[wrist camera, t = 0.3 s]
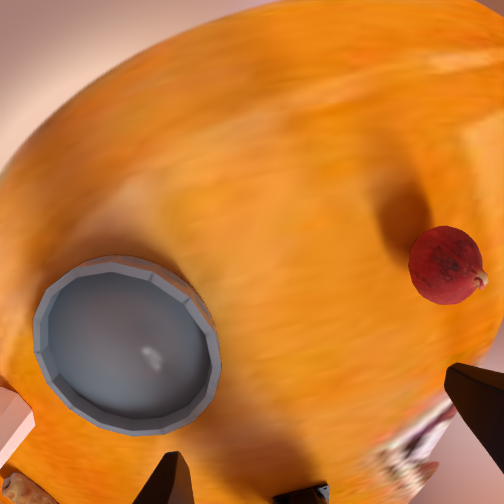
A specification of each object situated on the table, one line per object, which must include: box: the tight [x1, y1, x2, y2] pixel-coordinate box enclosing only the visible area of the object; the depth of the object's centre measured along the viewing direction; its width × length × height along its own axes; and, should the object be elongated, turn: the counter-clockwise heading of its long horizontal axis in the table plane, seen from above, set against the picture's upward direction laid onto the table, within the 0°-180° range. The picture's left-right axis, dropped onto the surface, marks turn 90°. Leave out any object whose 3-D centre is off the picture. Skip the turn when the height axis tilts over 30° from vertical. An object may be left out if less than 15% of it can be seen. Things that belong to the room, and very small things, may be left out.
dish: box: [33, 255, 222, 436], centre depth 20 cm, size 14×14×2 cm
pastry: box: [2, 472, 58, 504], centre depth 22 cm, size 9×7×4 cm
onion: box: [408, 226, 488, 305], centre depth 20 cm, size 6×6×8 cm
